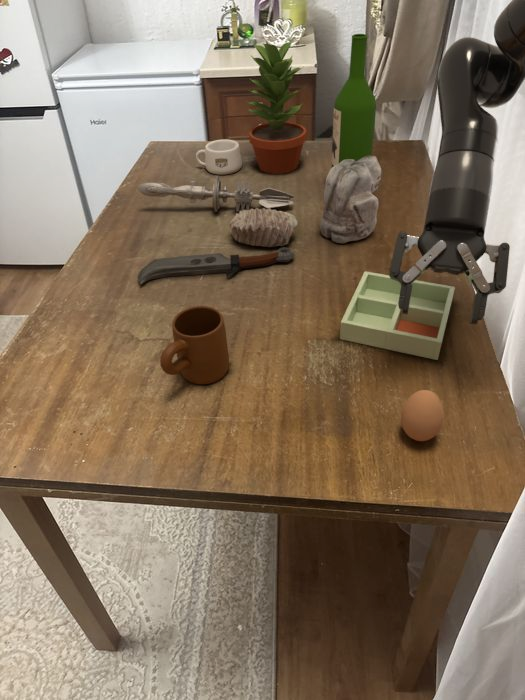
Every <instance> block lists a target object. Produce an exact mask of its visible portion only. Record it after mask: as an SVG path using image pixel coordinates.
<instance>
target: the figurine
mask: <svg viewBox="0 0 525 700" xmlns="http://www.w3.org/2000/svg"><path fill="white" fill-rule="evenodd" d="M381 178H382V168H381V165H380V162H379V161H378V158H377V157H376V156H375V155H373V154H372V155H368V156H365V157H363V158H361V159H360V160H358V161H357V162H356V161H355V160H353V159H346V160H343V161H342V162H340V163H339V164H338V165H336V166H334V167H332V166H331V167H330V170H329V172H328V174H327V176H326V178H325V183H324V188H323V189H324V190H323V205H324V207H323V213H322V216H321V219H320V224H319V225H320V226H319V230H320V233H321V235H322V236H323V237H325V238H326V239H331V241H332V242H333V243H335V244H347V243H348V242H355V241H359V240H363V239H366V238H367V237H368V236H370V235H371V234H372V232H374V230H375V227H376V225H377V215H378V209H379V199H378V198H377V196H375V195H374V194H373V193H374V192H375V191H376V190H378V188H379V182H380V181H381Z"/></svg>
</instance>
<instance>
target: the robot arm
mask: <svg viewBox="0 0 525 700" xmlns="http://www.w3.org/2000/svg"><path fill="white" fill-rule="evenodd" d="M493 38H494V41H495V44H496V45H494V44H491V43H489V42H486V41H484V40H481V39H478V38H476V37H471V36H466V37H462V38H459V39H457V40H456V41H454V42H453V43H452V44H451V45H450V46H449V47H448V49H447V50H446V51H445V53H444V54H443V56H442V59H441V61H440V63H439V66H438V72H437V81H436V84H437V85H436V86H437V97H438V105H439V113H440V123H441V125H440V126H441V136H440V137H441V138H440V142H439V149H438V154H437V160H436V165H435V167H434V170H433V174H432V179H431V183H430V188H429V192H428V193H429V196H428V201H427V207H426V213H425V219H424V225H423V230H422V232H421V234H420V235H419V236H415V235H409V234H407V232H406V231H400V232H398V234H397V237H396V241H395V246H394V249H393V254H392V259H391V262H390V267H389V272H388V275H389V276H390V278H391V279H392V280H396V281H398V282H399V283H400V284H401V290H400V296H399V302H398V306H399V309H403V311H402V314H408V309H409V303H410V297H411V291H412V285H413V284H412V283H413V282H414V281H415V280H417V279H419V277H422V275H423V274H424V273H426V272H427V271H428V270H429V269H430V270H431V271H433V273H438V274H442V273H448V274H449V275H454V276H459V275H461V274H464V275H465V277H466V279H467V280H468V282H469V283H470V284H471V285H472V287H473V288H474V290H475V292H476V293H475V294H474V295H473V302H472V307H471V313H470V320H469V324H470V325H471V324H472V325H477V324H478V323H479V321H482V320H483V319H484V317H485V314H486V309H487V302H488V297H489V295H492V294H500V293H501V292H503V291H504V289H506V287H507V281H508V271H509V260H510V259H509V258H510V248H511V246H510V244H509V243H508V242H502V243H500V244H489V243H486V240H485V233H486V227H487V220H488V214H489V209H490V203H491V196H492V190H493V185H494V166H495V160H496V159H495V158H496V154H497V153H496V152H497V147H498V141H499V135H500V125H499V122H498V120H497V119H496V118H495V117H494V116H493V115H492V114H491V113H489V112H488V111H487V110H494V109H499V108H501V107H503V106H505V105H507V104H508V103H510V102H511V101H512V100H513V99H514V98H515V97H516V96H517V94H518V92H519V91H520V89H521V88H522V86H523V85H524V83H525V0H511V1H510V2H509V3H508V4H507V5H506V7H505V8H504V9H503V10H502V11H501V12H500V14H499V15H498V17H497V18H496V21H495V23H494V26H493ZM485 109H486V110H485ZM415 246H417V249H418V251H419V252H420V255H421V256H422V257H420V259H419V260H417V261H416V262H415V263H414V265H413V266H412V267H410V269H409V270H407V271H406V272H405V271H403V270H402V269H401V268H402V263H403V260H404V255H405V253H409V252H411V250H412V248H413V247H415ZM484 254H487V255H488V257H489V261H490V262H491V263H494V268H493V277H492V282H488V281H487V279H486V277H485V275H484V273H483V271H482V269H481V267H480V265H479V264H478V262H477V261H479V260H480V259H481V258H482V257H483V256H484Z"/></svg>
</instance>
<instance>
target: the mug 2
mask: <svg viewBox="0 0 525 700" xmlns="http://www.w3.org/2000/svg"><path fill="white" fill-rule="evenodd" d="M200 154H205V155H204V156H205V157H204V158H205V159H204V160H205V162H204V161H201V160H200ZM195 160H196V162H197V163H198V164H199V165H200V166H205V169H206V170H207V172H208V173H211V174H212V175H220V176H221V175H231V174H234V173H236V172H239V171H240V170H241V169H242V167H243V159H242V154H241V149H240V143H239V142H238V141H236V140H234V139H226V138H223V139H222V138H221V139H216V140H213V141H209V142H208V143H207V144H206V145H205V147H204V149H199V150H198V151H196V153H195Z"/></svg>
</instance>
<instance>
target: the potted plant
mask: <svg viewBox="0 0 525 700" xmlns="http://www.w3.org/2000/svg"><path fill="white" fill-rule="evenodd" d="M293 41H294V37H293V38H292V39H291V41H288V42H285V43H283V44H282V45H281V47H280V48H279V49H278V47H277V46H276V45H275V44H271V43H269V42H268V41H267V40H265V43H264V44H263V45H260V44H255V42H252V43H253V46H254V48H255V50H256V51H257V52H258V54H259V55H260V57H254V56H252V55H250V57H251V58H252V59H253V61H254V62H255V63H256V64H257V65H258V66H259V67H258V72H259V75H260V77H261V79H262V80H261V79H251V78H250V77H249V80H250V81H251V82H252V83H253V84H255V85H256V87H259V88H260V89H261V90H262V91H260V90H258V89H252V90H249V89H248V91H249V92H251V93H252V94H254V95H257V96H260V97H261V98H263V99H265V100H267V101H269V103H270V104H269V105H270V106H268V105H266V104H264V103H261V102H258V101H250V102H249V101H246V103H248V104H250V105H252V106H253V107H256V108H257V109H256V108H255V109H250V108H247V110H248V111H249V112H250V113H251V114H252V115H253V114H254V115H255V116H257V117H259V118H261V119H263V120H265V121H267V122H266V123H265V122H264V123H260V124H258V125H255V126H253V127H252V128H250V129H249V131H248V138H249V144H251V147H252V149H253V152H254V155H255V159H256V161H257V165H258V168H259V169H260V171H262V172H264V173H268V174H272V175H273V174H274V175H281V174H287V173H291V172H293V171H295V170H296V169H297V168H298V166H299V163H300V159H301V155H302V150H303V147H304V144H305V142H306V141H307V128H306V127H305V126H303V125H301V124H300V123H295V122H291V121H290V122H289V119H290V118H292V117H293V116H294V115H295V114H296V113H297V112H299V110H300V109H301V106H302V105H303V103H300V104H299V105H292V106H291V107H288V108H287V109H286V110H285V111H284V107H285V104H286V103H287V102H288V101H289V100H291V98H293V97H294V96H296V94H297V93H299V92H300V91H301V89H299V90H298V89H297V90H294V91H293V92H292V93H289V92H290V90H289V87H290V85H291V82H292V80H293V76H294V75H295V74H296V73H298V72H299V71H301V69H303V68H304V66H302V67H295V68H293V69H292V67H293V66H292V64H293V62H294V60H293V55H291V56H290V58H285V56H286V55H287V53H288V52H289V49H290V47H291V46H292V43H293ZM284 58H285V59H284Z"/></svg>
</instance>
